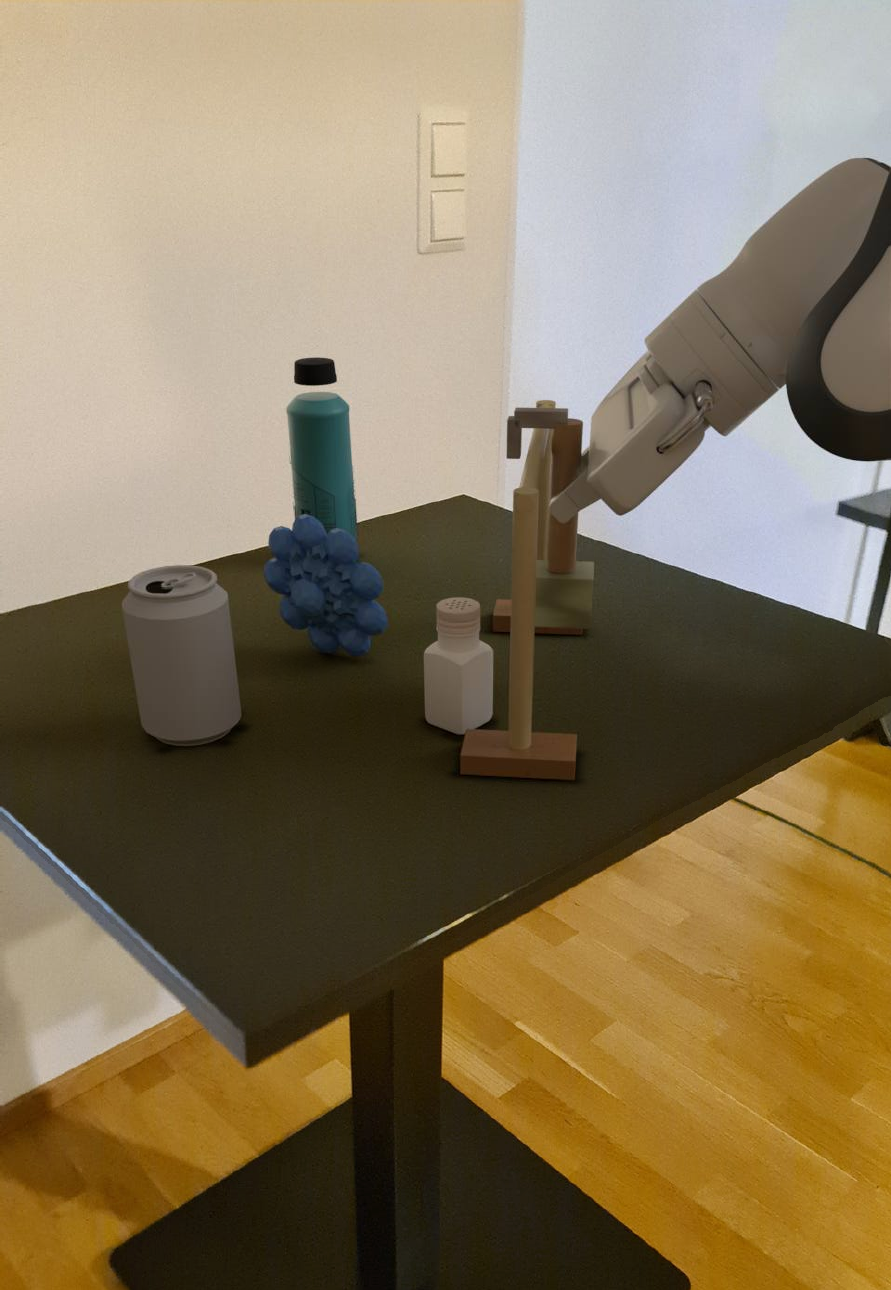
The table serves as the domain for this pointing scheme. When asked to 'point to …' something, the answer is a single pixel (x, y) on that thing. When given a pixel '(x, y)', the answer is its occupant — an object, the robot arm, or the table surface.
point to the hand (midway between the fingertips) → (556, 507)
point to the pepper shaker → (458, 669)
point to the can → (182, 654)
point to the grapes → (325, 586)
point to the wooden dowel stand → (524, 640)
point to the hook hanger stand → (558, 523)
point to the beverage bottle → (321, 449)
